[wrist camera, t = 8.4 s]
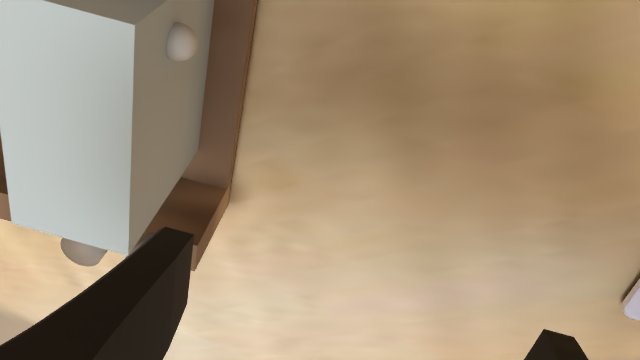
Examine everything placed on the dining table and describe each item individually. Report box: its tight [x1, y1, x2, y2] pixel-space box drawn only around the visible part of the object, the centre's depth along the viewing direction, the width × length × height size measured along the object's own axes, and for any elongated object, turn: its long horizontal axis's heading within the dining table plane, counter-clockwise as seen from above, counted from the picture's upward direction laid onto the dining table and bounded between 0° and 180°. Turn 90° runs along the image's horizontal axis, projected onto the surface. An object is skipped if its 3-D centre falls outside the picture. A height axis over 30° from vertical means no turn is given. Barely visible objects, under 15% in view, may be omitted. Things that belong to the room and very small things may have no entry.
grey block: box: [0, 0, 214, 256], centre depth 17 cm, size 4×7×6 cm, turn 168°
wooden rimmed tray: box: [0, 0, 258, 271], centre depth 18 cm, size 12×12×5 cm
